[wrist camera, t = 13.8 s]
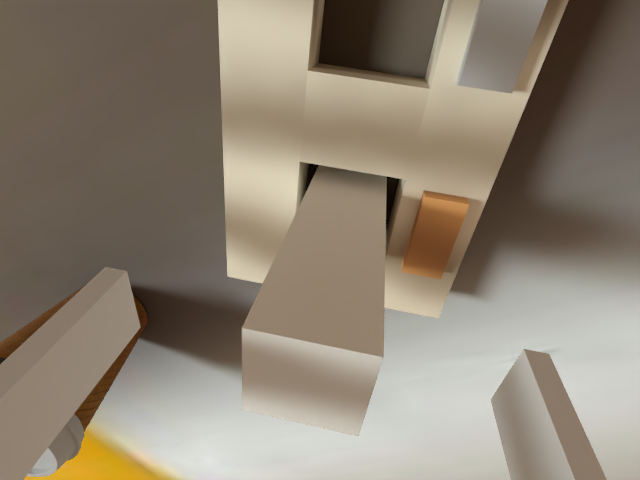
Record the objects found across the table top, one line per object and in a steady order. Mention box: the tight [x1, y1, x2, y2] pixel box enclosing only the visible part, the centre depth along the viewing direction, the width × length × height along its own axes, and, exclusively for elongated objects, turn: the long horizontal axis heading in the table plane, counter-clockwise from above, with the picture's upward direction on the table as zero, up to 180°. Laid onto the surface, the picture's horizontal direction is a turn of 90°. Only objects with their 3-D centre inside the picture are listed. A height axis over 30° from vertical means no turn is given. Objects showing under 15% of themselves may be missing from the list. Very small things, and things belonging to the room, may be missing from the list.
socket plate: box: [218, 0, 569, 318], centre depth 18 cm, size 22×14×4 cm, turn 174°
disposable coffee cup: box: [0, 284, 148, 477], centre depth 27 cm, size 10×10×12 cm
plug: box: [242, 165, 387, 436], centre depth 17 cm, size 4×4×14 cm
